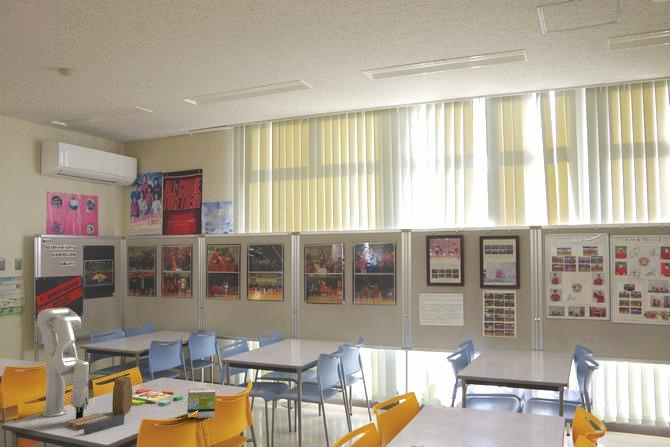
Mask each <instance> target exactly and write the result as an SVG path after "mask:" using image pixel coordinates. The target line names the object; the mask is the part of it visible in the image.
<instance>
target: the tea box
mask: <svg viewBox="0 0 670 447" xmlns="http://www.w3.org/2000/svg"><path fill="white" fill-rule="evenodd" d="M215 406H216V389H215V388H214V387H211V388H210V387H207V388H206V387H204V388H189V389H188V391H187V409H186V410H187V412H186V414H187V415H189V414H191V413H193V412H195V411H197V410H198V416H197V418H196V419H210V418H212V419H213V418H215V411H216V410H215V409H216V408H215Z"/></svg>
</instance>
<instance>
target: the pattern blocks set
mask: <svg viewBox="0 0 670 447" xmlns="http://www.w3.org/2000/svg"><path fill="white" fill-rule="evenodd" d="M174 394H175V393H174V391H173V390H162V392H156V391H152V390H151V389H147V388H146V389H144V388H138V389H136V394H132V406H143V404H144V405H146V403H150V402H151V404H158V406H163V407H167V406H170V405H171V403H172V401H173V402H174V401H176V402H178V401H182V400H183V399H184V397H183V395H178V396H175V397H174V396H173V395H174ZM170 399H172V400H170Z"/></svg>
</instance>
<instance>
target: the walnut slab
mask: <svg viewBox="0 0 670 447" xmlns="http://www.w3.org/2000/svg"><path fill="white" fill-rule="evenodd" d="M107 417H109V416H108V415H104V414H101V413H95V414H91V415H86V416H83V417H81V418H77V419H76V418H73V419H70V420H66V423H65V425H66V427H68V428H71V429H74V430H77V431H81V430H84V424H85V423H88V422H92V421H96V420H100V419H103V418H107Z"/></svg>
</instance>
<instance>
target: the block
mask: <svg viewBox="0 0 670 447" xmlns="http://www.w3.org/2000/svg"><path fill="white" fill-rule="evenodd" d="M131 379H132V378H131V376H120V377H118V378H115V380H114V381H113V382H114V383H113V384H114V385H113V387H112V389H113V390H112V413H113V414H115V415H118V414H127V413H128V412H130V410H131V408H132V406H133V405H132V396H133V386H132V380H131Z"/></svg>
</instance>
